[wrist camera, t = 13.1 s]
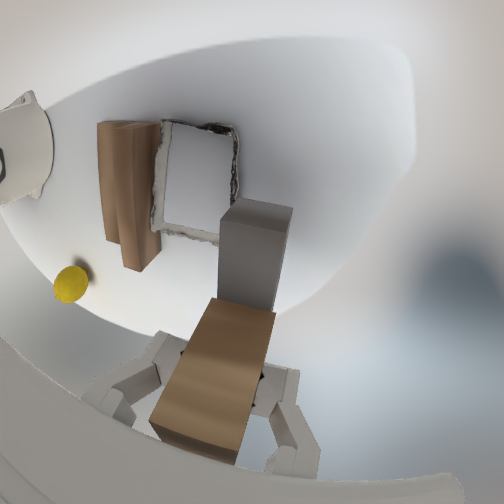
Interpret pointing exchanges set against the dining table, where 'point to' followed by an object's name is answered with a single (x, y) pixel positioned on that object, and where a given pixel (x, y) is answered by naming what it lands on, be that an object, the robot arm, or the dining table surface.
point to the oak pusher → (227, 338)
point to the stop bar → (129, 188)
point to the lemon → (70, 284)
